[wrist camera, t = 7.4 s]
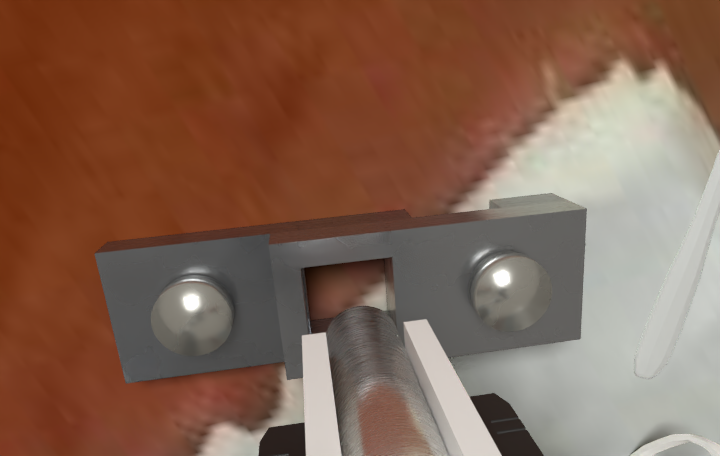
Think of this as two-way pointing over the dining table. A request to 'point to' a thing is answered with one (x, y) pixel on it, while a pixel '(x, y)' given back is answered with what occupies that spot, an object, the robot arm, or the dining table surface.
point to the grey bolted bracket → (341, 245)
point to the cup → (650, 449)
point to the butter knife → (679, 285)
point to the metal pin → (377, 389)
